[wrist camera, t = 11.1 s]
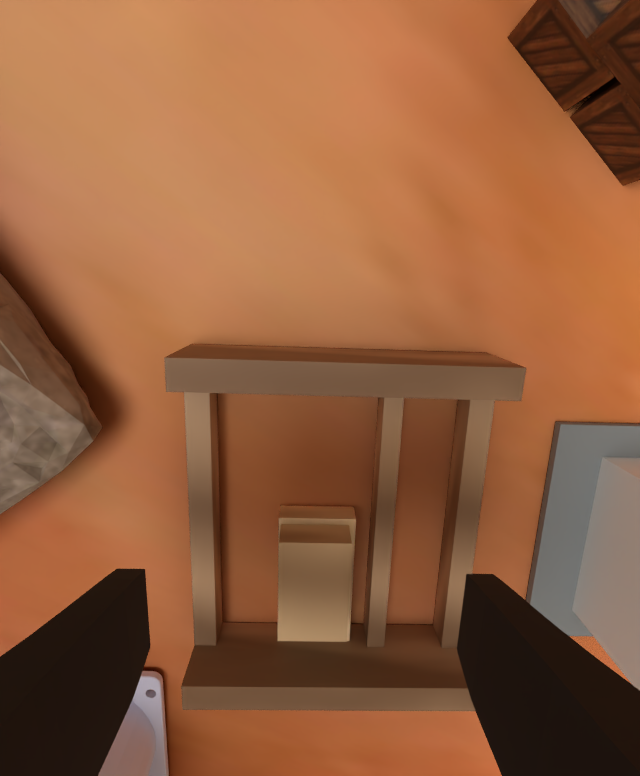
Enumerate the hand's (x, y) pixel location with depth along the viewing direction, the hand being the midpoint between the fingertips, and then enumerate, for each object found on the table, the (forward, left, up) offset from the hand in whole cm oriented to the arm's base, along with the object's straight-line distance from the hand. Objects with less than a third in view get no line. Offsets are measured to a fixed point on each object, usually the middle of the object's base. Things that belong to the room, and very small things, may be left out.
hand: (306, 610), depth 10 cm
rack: (-3, -2, -10) cm, 11 cm away
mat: (-4, -14, -10) cm, 18 cm away
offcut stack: (-6, -1, -10) cm, 12 cm away
